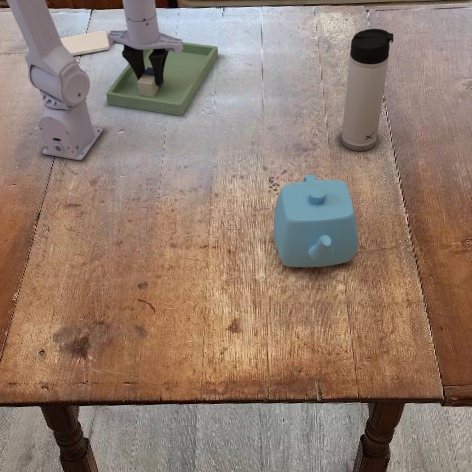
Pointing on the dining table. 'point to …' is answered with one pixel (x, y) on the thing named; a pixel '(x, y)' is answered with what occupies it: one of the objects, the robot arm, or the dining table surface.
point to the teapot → (315, 223)
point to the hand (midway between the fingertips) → (151, 81)
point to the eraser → (148, 83)
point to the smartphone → (86, 43)
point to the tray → (167, 81)
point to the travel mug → (365, 88)
